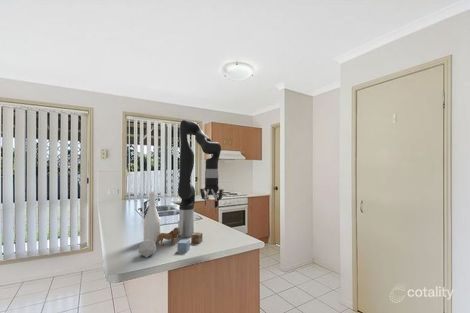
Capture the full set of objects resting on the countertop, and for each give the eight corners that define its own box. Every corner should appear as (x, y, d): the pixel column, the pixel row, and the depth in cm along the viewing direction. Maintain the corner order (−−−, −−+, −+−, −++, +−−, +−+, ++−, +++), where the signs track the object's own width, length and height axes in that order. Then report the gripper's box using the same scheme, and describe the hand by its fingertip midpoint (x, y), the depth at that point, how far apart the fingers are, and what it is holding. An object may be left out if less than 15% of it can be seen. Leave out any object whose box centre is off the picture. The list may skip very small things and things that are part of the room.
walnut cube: (191, 243, 141) (191, 234, 141) (194, 240, 145) (194, 232, 146) (199, 243, 139) (199, 235, 140) (202, 241, 144) (202, 232, 144)
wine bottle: (163, 240, 146) (164, 191, 147) (152, 245, 137) (152, 192, 138) (151, 238, 150) (152, 190, 151) (140, 242, 141) (140, 192, 142)
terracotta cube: (205, 208, 133) (205, 199, 133) (209, 206, 138) (209, 198, 138) (213, 208, 131) (213, 199, 132) (217, 207, 136) (217, 198, 136)
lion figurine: (178, 241, 144) (178, 226, 145) (180, 243, 140) (180, 228, 140) (153, 244, 138) (153, 229, 138) (154, 247, 133) (154, 231, 133)
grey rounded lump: (145, 252, 127) (134, 240, 123) (160, 244, 128) (149, 232, 124) (144, 264, 120) (133, 251, 115) (159, 255, 120) (149, 242, 116)
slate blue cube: (177, 252, 126) (177, 242, 126) (180, 248, 131) (180, 239, 131) (186, 252, 125) (186, 243, 126) (189, 249, 130) (189, 240, 131)
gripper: (197, 177, 134) (197, 207, 133) (220, 177, 129) (220, 209, 129) (203, 176, 141) (203, 205, 140) (225, 176, 136) (225, 206, 136)
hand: (211, 206), depth 135 cm, fingers closed on terracotta cube, 5 cm apart
